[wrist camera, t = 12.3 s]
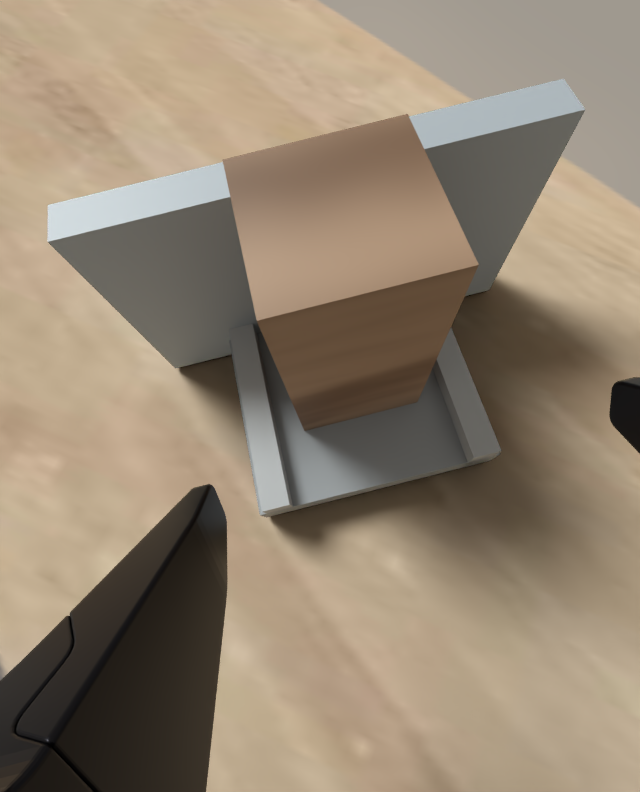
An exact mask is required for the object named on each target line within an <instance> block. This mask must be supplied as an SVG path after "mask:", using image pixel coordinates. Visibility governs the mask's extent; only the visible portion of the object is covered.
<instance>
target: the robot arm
mask: <svg viewBox="0 0 640 792" xmlns="http://www.w3.org/2000/svg"><path fill="white" fill-rule="evenodd" d="M610 420H611V423H612V424H613V426H614V427H615V428H616V429H617V430H618V431H619V432H620V433H621V434H622V435H623V436H624V438H625V439H626V440H627V441H628V442H629V443H630V444H631V445H632V446H633V447H634V448H635V449H636V450H637V451H638V452H639V453H640V377H633V378H629V379H625V380H621V381H618V382H616V383H615V384H614V385H613V387H612V393H611V403H610ZM226 597H227V521H226V516H225V512H224V510H223V507H222V505H221V503H220V500H219V498H218V495H217V493H216V491H215V488H214V487H213V486H212V485H210V484H208V485H203V486H199V487H195V488H193V489H192V490H190V491H189V492H188V493H187V495H186V496H185V497H184V498H183V499H182V500H181V501H180V502H179V503H178V504H177V505H176V506H175V507H174V508H173V509H172V510H171V511H170V512H169V513H168V514H167V515H166V516H165V517H164V518H163V519H162V520H161V521H160V522H159V523H158V524H157V525H156V526H155V527H154V528H153V529H152V530H151V531H150V532H149V533H148V534H147V535H146V536H145V537H144V538H143V539H142V540H141V541H140V542H139V543H138V544H137V545H136V546H135V547H134V548H133V549H132V550H131V551H130V552H129V553H128V554H127V555H126V556H125V557H124V558H123V559H122V560H121V561H120V562H119V563H118V564H117V565H116V566H115V567H114V568H113V569H112V570H111V571H110V572H109V574H108V575H107V576H106V577H105V578H104V579H103V580H102V581H101V582H100V583H99V584H98V585H97V586H96V587H95V588H94V589H93V590H92V591H91V592H90V593H89V594H88V595H87V596H86V597H85V598H84V599H83V600H82V601H81V602H80V603H79V604H78V605H77V606H76V607H75V608H74V609H73V610H72V611H71V612H70V616H66V617H65V618H64V619H63V620H62V621H61V622H60V623H59V624H58V625H57V626H56V627H55V628H54V629H53V630H52V631H51V632H50V633H49V634H48V635H47V636H46V637H45V638H44V639H43V640H42V641H41V642H40V643H39V644H38V645H37V646H36V647H35V648H34V649H33V650H32V651H31V652H30V653H29V654H28V655H27V656H26V657H25V658H24V659H23V660H22V661H21V662H20V663H19V664H18V665H17V666H16V667H14V668H13V669H12V670H11V671H10V672H9V673H8V674H7V675H6V676H5V677H4V678H3V679H2V680H1V681H0V792H206V786H207V777H208V767H209V758H210V748H211V739H212V730H213V720H214V711H215V701H216V692H217V683H218V673H219V664H220V654H221V645H222V636H223V626H224V617H225V607H226Z"/></svg>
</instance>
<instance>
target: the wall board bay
mask: <svg viewBox="0 0 640 792" xmlns="http://www.w3.org/2000/svg"><path fill="white" fill-rule="evenodd" d="M584 111H585V108H584V107H583V105H582V104H581V103H580V101H579V100H578V99H577V97H576V96H575V94H574V93H573V91H572V90H571V88H570V87H569V86H568V84H567V83H566V81H565V80H564V79H560V80H557V81H552V82H548V83H544V84H540V85H536V86H532V87H528V88H524V89H520V90H516V91H512V92H507V93H504V94H499V95H496V96H491V97H487V98H483V99H479V100H475V101H471V102H467V103H462V104H458V105H454V106H450V107H446V108H442V109H438V110H434V111H430V112H426V113H422V114H418V115H414V116H409V118H410V120H411V122H412V124H413V126H414V128H415V131H416V133H417V135H418V137H419V139H420V141H421V143H422V145H423V147H424V150H425V152H426V154H427V156H428V158H429V160H430V162H431V164H432V167H433V169H434V171H435V173H436V175H437V177H438V179H439V181H440V184H441V186H442V188H443V190H444V192H445V194H446V196H447V198H448V200H449V203H450V205H451V207H452V209H453V211H454V213H455V215H456V217H457V220H458V222H459V224H460V226H461V228H462V230H463V232H464V234H465V236H466V239H467V241H468V243H469V245H470V247H471V249H472V251H473V253H474V256H475V258H476V260H477V262H478V264H479V266H478V268H477V270H476V272H475V274H474V277H473V279H472V281H471V283H470V286H469V288H468V290H467V292H466V295H465V296H468V295H472V294H476V293H480V292H484V291H488V290H490V288H491V286H492V284H493V282H494V280H495V278H496V276H497V274H498V273H499V271H500V269H501V267H502V265H503V263H504V261H505V259H506V258H507V256H508V254H509V252H510V250H511V248H512V246H513V244H514V243H515V241H516V239H517V237H518V235H519V233H520V231H521V229H522V228H523V226H524V224H525V222H526V220H527V218H528V216H529V214H530V213H531V211H532V209H533V207H534V205H535V203H536V201H537V199H538V198H539V196H540V194H541V192H542V190H543V188H544V186H545V184H546V182H547V181H548V179H549V177H550V175H551V173H552V171H553V169H554V167H555V166H556V164H557V162H558V160H559V158H560V156H561V154H562V152H563V151H564V149H565V147H566V145H567V143H568V141H569V139H570V137H571V136H572V134H573V132H574V130H575V128H576V126H577V124H578V122H579V120H580V119H581V117H582V115H583V113H584ZM48 243H49V244H50V245H51V246H52V247H53V248H54V249H55V250H56V251H57V252H58V253H59V254H60V255H61V256H62V257H63V258H65V259H66V260H67V261H68V262H69V263H70V264H71V265H72V266H73V267H74V268H75V269H76V270H77V271H78V272H79V273H80V274H81V275H82V276H83V277H84V278H85V279H86V280H87V281H88V282H89V283H90V284H91V285H92V286H93V287H94V288H95V289H96V290H97V291H98V292H99V293H100V294H101V295H102V296H103V297H104V298H105V299H106V300H107V301H108V302H109V303H110V304H111V305H112V306H113V307H114V308H115V309H116V310H117V311H118V312H119V313H120V314H121V315H122V316H123V317H124V318H125V319H126V320H127V321H128V322H129V323H130V324H131V325H132V326H133V327H134V328H135V329H136V330H137V331H138V332H139V333H140V334H141V335H142V336H143V337H144V338H145V339H146V340H147V341H148V342H149V343H150V344H151V345H152V346H153V347H154V348H155V349H156V350H157V351H158V352H159V353H160V354H161V355H162V356H163V357H164V358H165V359H166V360H167V361H168V362H169V363H170V364H171V365H173V366H174V367H175V368H179V367H183V366H187V365H191V364H195V363H199V362H203V361H207V360H211V359H215V358H219V357H223V356H227V355H231V354H232V360H233V365H234V371H235V377H236V382H237V388H238V394H239V399H240V405H241V411H242V416H243V422H244V428H245V433H246V439H247V445H248V450H249V456H250V462H251V467H252V473H253V479H254V484H255V490H256V496H257V501H258V507H259V513H260V515H261V516H264V517H270V516H274V515H278V514H282V513H286V512H290V511H294V510H298V509H302V508H306V507H309V506H313V505H317V504H321V503H325V502H329V501H333V500H337V499H341V498H345V497H349V496H353V495H357V494H361V493H365V492H369V491H372V490H376V489H380V488H384V487H388V486H392V485H396V484H400V483H404V482H408V481H412V480H416V479H420V478H424V477H428V476H432V475H436V474H439V473H443V472H447V471H451V470H455V469H459V468H463V467H467V466H471V465H475V464H479V463H483V462H487V461H490V460H492V459H493V458H495V457H497V456H498V455H500V452H501V451H502V450H501V448H500V445H499V443H498V441H497V438H496V436H495V433H494V431H493V428H492V426H491V423H490V421H489V419H488V416H487V414H486V411H485V409H484V406H483V404H482V401H481V399H480V397H479V394H478V392H477V389H476V387H475V384H474V382H473V379H472V377H471V375H470V372H469V370H468V367H467V365H466V362H465V360H464V357H463V355H462V352H461V350H460V348H459V345H458V343H457V340H456V338H455V335H454V333H453V330H452V328H450V330H449V333H448V335H447V337H446V339H445V342H444V344H443V346H442V348H441V350H440V353H439V355H438V357H437V359H436V362H435V364H434V366H433V368H432V371H431V373H430V375H429V377H428V380H427V382H426V384H425V386H424V388H423V391H422V393H421V395H420V397H419V400H418V402H416V403H412V404H408V405H405V406H401V407H397V408H393V409H389V410H385V411H381V412H377V413H373V414H369V415H365V416H361V417H358V418H354V419H350V420H346V421H342V422H338V423H334V424H330V425H326V426H322V427H318V428H314V429H311V430H307V431H304V429H303V427H302V424H301V422H300V420H299V417H298V415H297V413H296V411H295V408H294V406H293V404H292V401H291V399H290V397H289V394H288V392H287V390H286V387H285V385H284V383H283V380H282V378H281V376H280V374H279V371H278V369H277V367H276V364H275V362H274V360H273V357H272V355H271V353H270V350H269V348H268V346H267V343H266V341H265V339H264V336H263V334H262V332H261V330H260V327H259V325H258V323H257V320H256V315H255V310H254V306H253V301H252V296H251V292H250V287H249V282H248V278H247V273H246V268H245V263H244V259H243V254H242V249H241V245H240V240H239V235H238V231H237V226H236V221H235V217H234V212H233V207H232V202H231V198H230V193H229V188H228V184H227V179H226V174H225V170H224V165H223V162H222V163H218V164H214V165H210V166H205V167H201V168H197V169H193V170H189V171H185V172H181V173H177V174H173V175H169V176H165V177H161V178H156V179H152V180H148V181H144V182H140V183H136V184H132V185H128V186H124V187H120V188H116V189H112V190H108V191H103V192H99V193H95V194H91V195H87V196H83V197H79V198H75V199H71V200H67V201H63V202H59V203H55V204H50V205H48Z"/></svg>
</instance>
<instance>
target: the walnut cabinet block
mask: <svg viewBox="0 0 640 792" xmlns="http://www.w3.org/2000/svg"><path fill="white" fill-rule="evenodd" d="M223 165H224V170H225V174H226V179H227V184H228V188H229V193H230V198H231V202H232V207H233V212H234V217H235V221H236V226H237V231H238V235H239V240H240V245H241V249H242V254H243V259H244V263H245V268H246V273H247V278H248V282H249V287H250V292H251V296H252V301H253V306H254V310H255V315H256V320H257V323H258V325H259V327H260V330H261V332H262V334H263V336H264V339H265V341H266V343H267V346H268V348H269V350H270V353H271V355H272V357H273V360H274V362H275V364H276V367H277V369H278V371H279V374H280V376H281V378H282V380H283V383H284V385H285V387H286V390H287V392H288V394H289V397H290V399H291V401H292V404H293V406H294V408H295V411H296V413H297V415H298V417H299V420H300V422H301V424H302V427H303V429H304V431H307V430H311V429H314V428H318V427H322V426H326V425H330V424H334V423H338V422H342V421H346V420H350V419H354V418H358V417H361V416H365V415H369V414H373V413H377V412H381V411H385V410H389V409H393V408H397V407H401V406H405V405H408V404H412V403H416V402H418V400H419V397H420V395H421V393H422V391H423V388H424V386H425V384H426V382H427V380H428V377H429V375H430V373H431V371H432V368H433V366H434V364H435V362H436V359H437V357H438V355H439V353H440V350H441V348H442V346H443V344H444V342H445V339H446V337H447V335H448V333H449V330H450V328H451V326H452V324H453V321H454V319H455V317H456V315H457V312H458V310H459V308H460V306H461V304H462V301H463V299H464V297H465V295H466V292H467V290H468V288H469V286H470V283H471V281H472V279H473V277H474V274H475V272H476V270H477V268H478V266H479V264H478V262H477V260H476V258H475V256H474V253H473V251H472V249H471V247H470V245H469V243H468V241H467V239H466V236H465V234H464V232H463V230H462V228H461V226H460V224H459V222H458V220H457V217H456V215H455V213H454V211H453V209H452V207H451V205H450V203H449V200H448V198H447V196H446V194H445V192H444V190H443V188H442V186H441V184H440V181H439V179H438V177H437V175H436V173H435V171H434V169H433V167H432V164H431V162H430V160H429V158H428V156H427V154H426V152H425V150H424V147H423V145H422V143H421V141H420V139H419V137H418V135H417V133H416V131H415V128H414V126H413V124H412V122H411V120H410V118H409V116H408V114H406V115H402V116H397V117H393V118H389V119H385V120H381V121H377V122H373V123H369V124H365V125H361V126H357V127H353V128H349V129H345V130H341V131H337V132H333V133H329V134H325V135H321V136H317V137H313V138H309V139H305V140H300V141H296V142H292V143H288V144H284V145H280V146H276V147H272V148H268V149H264V150H260V151H256V152H252V153H248V154H244V155H240V156H236V157H232V158H228V159H224V160H223Z"/></svg>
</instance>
